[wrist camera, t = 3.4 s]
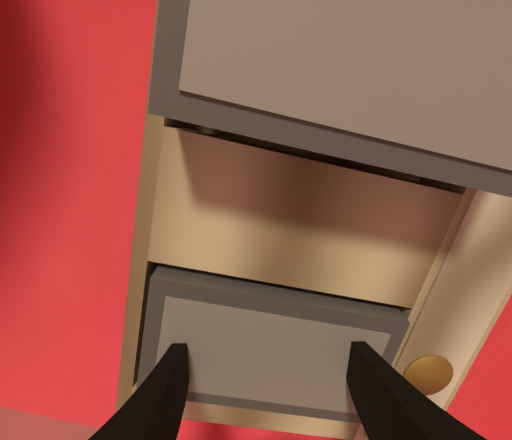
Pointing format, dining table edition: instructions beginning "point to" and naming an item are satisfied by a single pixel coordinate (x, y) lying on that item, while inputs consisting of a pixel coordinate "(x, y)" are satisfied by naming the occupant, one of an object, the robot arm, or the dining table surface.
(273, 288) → the brown block
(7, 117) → the dining table surface
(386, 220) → the switch panel
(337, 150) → the key grey
